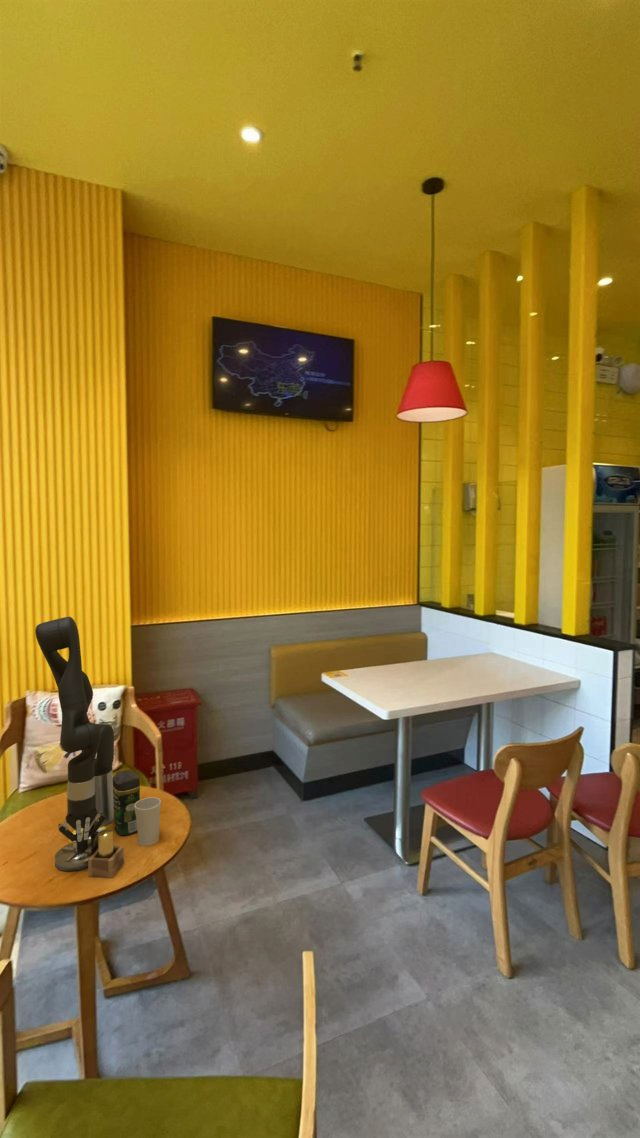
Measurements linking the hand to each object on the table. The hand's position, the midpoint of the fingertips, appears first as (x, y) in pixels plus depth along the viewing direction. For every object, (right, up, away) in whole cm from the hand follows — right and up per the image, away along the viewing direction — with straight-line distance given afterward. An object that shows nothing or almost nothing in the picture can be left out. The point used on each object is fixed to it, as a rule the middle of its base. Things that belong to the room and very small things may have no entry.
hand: (82, 851), depth 155 cm
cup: (+15, -4, +14) cm, 21 cm away
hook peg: (+8, -5, -1) cm, 9 cm away
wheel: (-3, -5, +4) cm, 7 cm away
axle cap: (-3, -1, +4) cm, 5 cm away
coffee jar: (+6, -4, +21) cm, 22 cm away
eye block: (+8, -5, -1) cm, 9 cm away
